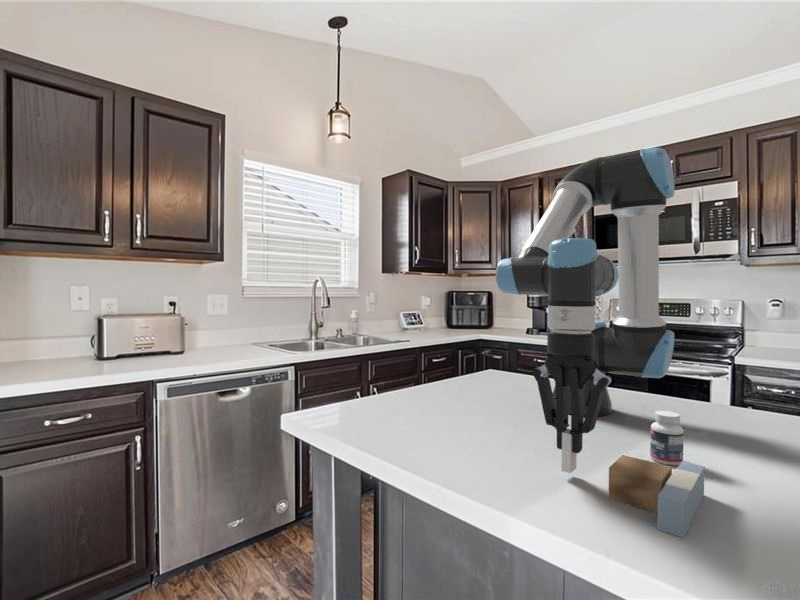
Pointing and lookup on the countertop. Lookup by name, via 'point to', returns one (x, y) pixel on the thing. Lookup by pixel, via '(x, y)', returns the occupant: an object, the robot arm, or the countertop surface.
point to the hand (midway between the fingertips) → (568, 469)
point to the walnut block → (637, 482)
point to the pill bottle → (667, 438)
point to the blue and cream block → (680, 498)
